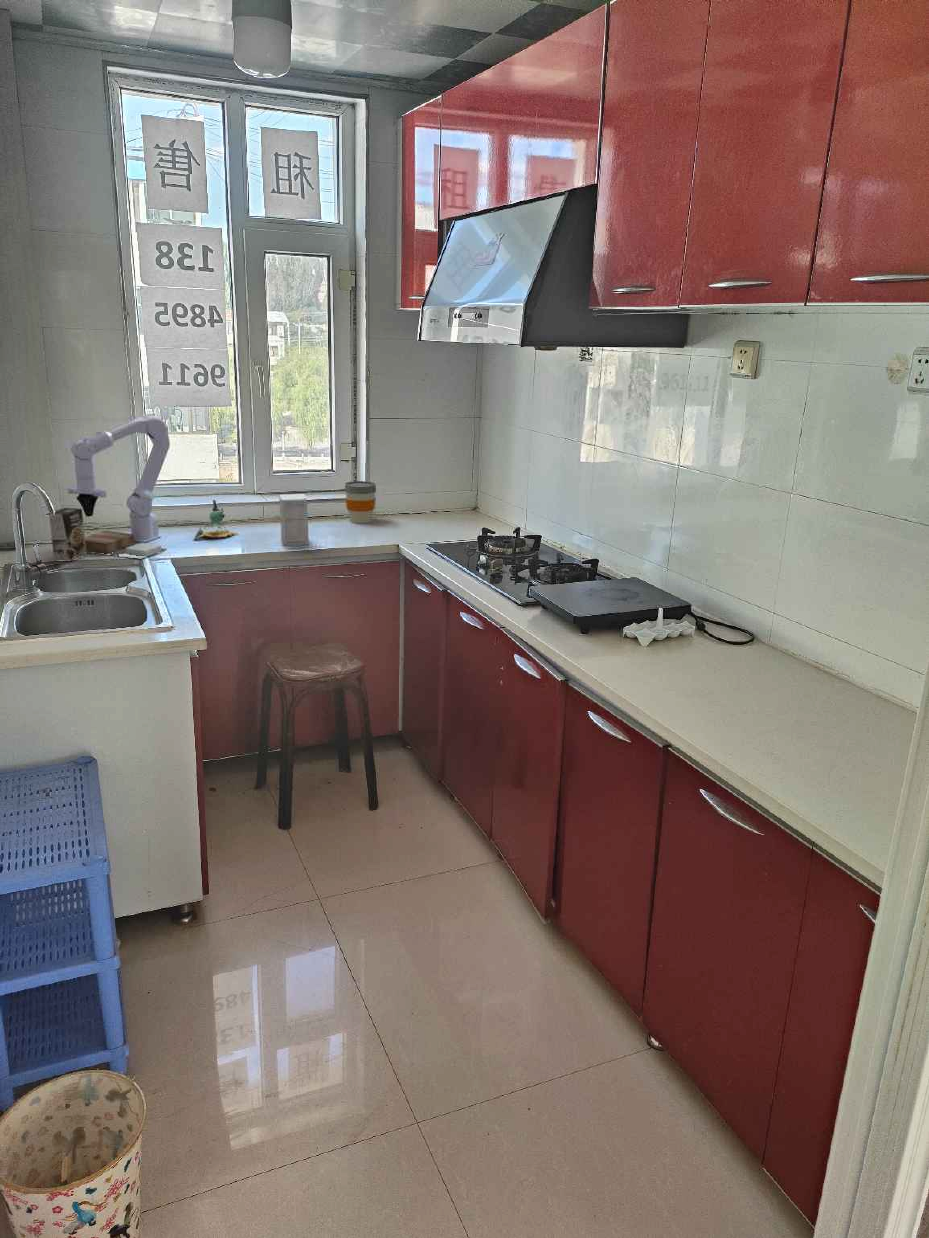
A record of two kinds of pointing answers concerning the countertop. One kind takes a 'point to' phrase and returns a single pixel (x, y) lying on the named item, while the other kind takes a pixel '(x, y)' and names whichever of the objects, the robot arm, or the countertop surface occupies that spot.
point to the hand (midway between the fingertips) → (89, 516)
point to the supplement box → (294, 519)
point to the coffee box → (68, 534)
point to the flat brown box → (108, 542)
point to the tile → (143, 549)
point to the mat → (129, 554)
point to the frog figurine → (215, 517)
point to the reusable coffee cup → (360, 501)
